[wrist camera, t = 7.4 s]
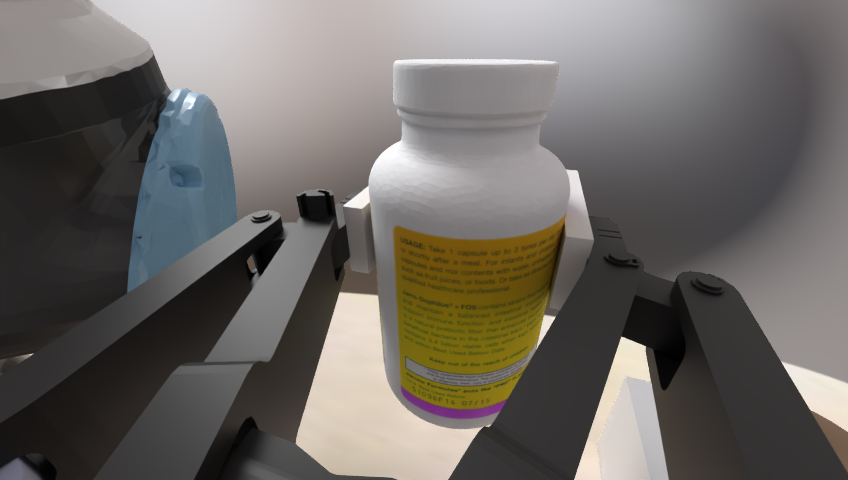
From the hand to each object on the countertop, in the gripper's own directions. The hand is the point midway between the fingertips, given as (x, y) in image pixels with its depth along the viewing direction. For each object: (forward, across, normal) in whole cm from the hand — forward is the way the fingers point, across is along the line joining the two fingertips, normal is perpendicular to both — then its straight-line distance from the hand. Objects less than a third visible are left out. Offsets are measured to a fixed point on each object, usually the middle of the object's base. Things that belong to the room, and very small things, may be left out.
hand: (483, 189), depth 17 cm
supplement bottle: (-5, 0, -7) cm, 9 cm away
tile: (-3, +10, -18) cm, 21 cm away
